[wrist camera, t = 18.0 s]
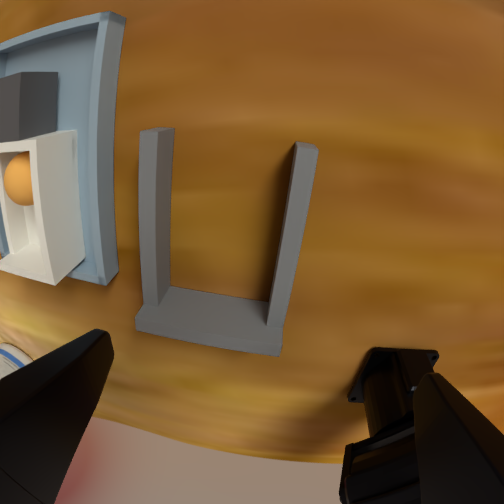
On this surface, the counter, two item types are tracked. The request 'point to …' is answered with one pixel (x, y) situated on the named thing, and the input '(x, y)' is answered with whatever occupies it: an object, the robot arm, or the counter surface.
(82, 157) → the tray
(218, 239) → the counter surface
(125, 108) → the counter surface
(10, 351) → the supplement tub
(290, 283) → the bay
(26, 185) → the ball
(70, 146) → the white open-front box
